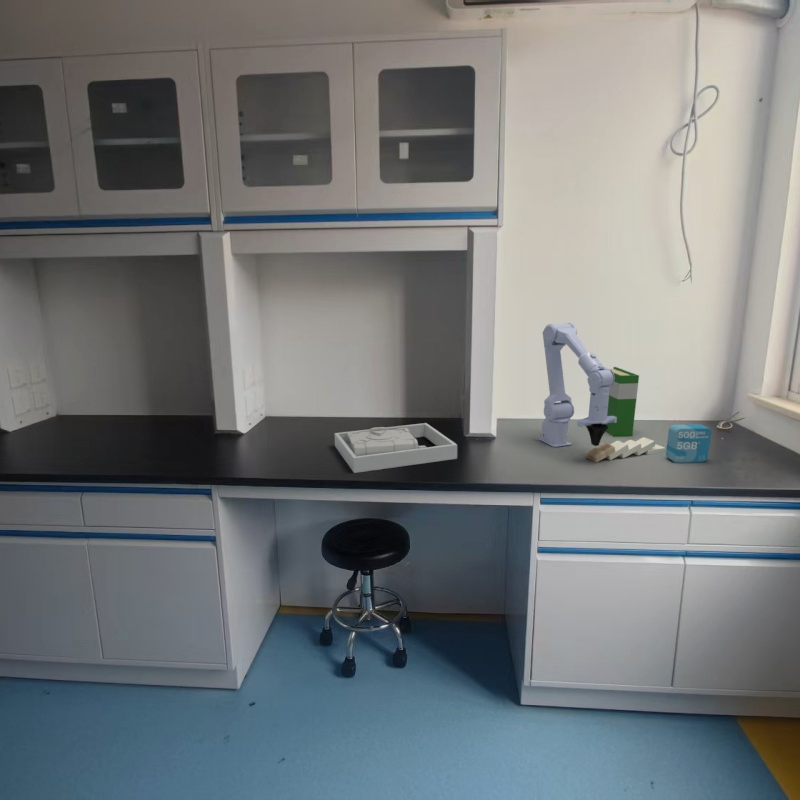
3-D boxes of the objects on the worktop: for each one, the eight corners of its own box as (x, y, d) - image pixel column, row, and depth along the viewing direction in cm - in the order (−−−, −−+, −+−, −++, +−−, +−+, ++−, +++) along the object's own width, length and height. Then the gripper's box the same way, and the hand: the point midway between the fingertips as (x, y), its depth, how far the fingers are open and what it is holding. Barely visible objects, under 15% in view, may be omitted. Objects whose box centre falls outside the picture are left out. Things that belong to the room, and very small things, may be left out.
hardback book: (593, 423, 214) (598, 367, 208) (610, 423, 215) (615, 366, 209) (613, 436, 197) (620, 375, 191) (632, 436, 198) (639, 375, 192)
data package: (671, 462, 170) (676, 428, 167) (664, 458, 175) (669, 424, 172) (707, 462, 171) (712, 428, 168) (699, 457, 175) (704, 424, 172)
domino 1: (585, 452, 175) (604, 442, 176) (587, 457, 175) (605, 447, 177) (595, 457, 170) (614, 446, 172) (596, 462, 171) (615, 451, 173)
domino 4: (626, 446, 181) (643, 437, 183) (627, 451, 181) (644, 441, 183) (637, 450, 176) (654, 441, 178) (638, 455, 177) (655, 446, 179)
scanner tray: (335, 446, 188) (334, 433, 187) (426, 435, 200) (426, 423, 199) (354, 472, 163) (353, 458, 162) (457, 458, 175) (457, 444, 174)
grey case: (433, 458, 176) (433, 437, 175) (352, 465, 171) (352, 443, 169) (419, 441, 195) (419, 422, 193) (345, 447, 189) (345, 427, 187)
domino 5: (637, 446, 182) (654, 443, 185) (637, 451, 183) (654, 449, 185) (648, 450, 178) (665, 447, 181) (647, 456, 178) (665, 453, 181)
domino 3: (612, 448, 178) (630, 439, 180) (613, 453, 179) (631, 444, 181) (622, 453, 174) (640, 443, 176) (623, 458, 175) (641, 448, 176)
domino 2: (599, 450, 177) (617, 440, 178) (600, 455, 177) (618, 445, 179) (609, 455, 172) (627, 444, 174) (610, 460, 173) (628, 449, 175)
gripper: (588, 410, 163) (585, 451, 166) (625, 406, 167) (620, 445, 171) (574, 405, 169) (571, 444, 172) (609, 401, 174) (606, 439, 177)
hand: (594, 444), depth 172 cm, fingers closed
